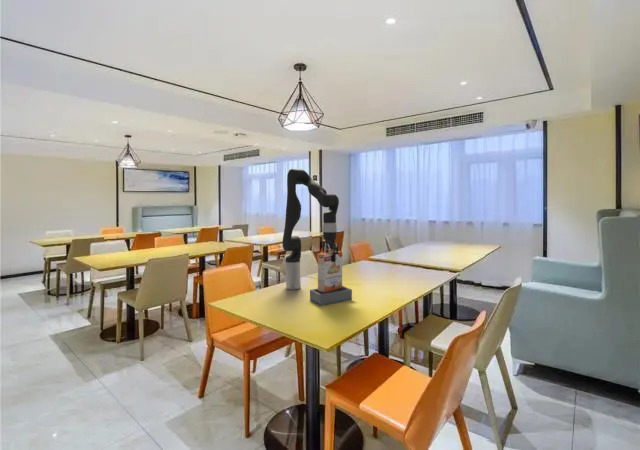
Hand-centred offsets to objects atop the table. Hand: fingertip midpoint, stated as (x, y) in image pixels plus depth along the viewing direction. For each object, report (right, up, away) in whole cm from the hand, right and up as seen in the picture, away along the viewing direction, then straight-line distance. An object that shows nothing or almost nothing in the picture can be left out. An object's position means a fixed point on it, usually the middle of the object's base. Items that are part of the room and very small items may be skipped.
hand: (330, 260), depth 186 cm
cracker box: (0, -16, +1) cm, 17 cm away
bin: (0, -22, +2) cm, 22 cm away
